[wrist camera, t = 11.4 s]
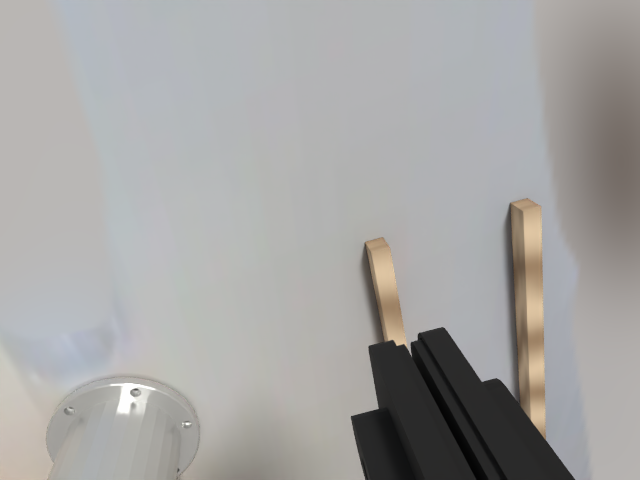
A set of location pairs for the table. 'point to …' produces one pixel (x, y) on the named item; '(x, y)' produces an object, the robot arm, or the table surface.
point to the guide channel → (526, 303)
